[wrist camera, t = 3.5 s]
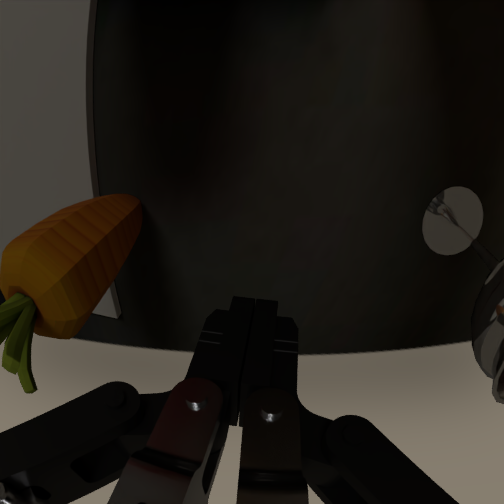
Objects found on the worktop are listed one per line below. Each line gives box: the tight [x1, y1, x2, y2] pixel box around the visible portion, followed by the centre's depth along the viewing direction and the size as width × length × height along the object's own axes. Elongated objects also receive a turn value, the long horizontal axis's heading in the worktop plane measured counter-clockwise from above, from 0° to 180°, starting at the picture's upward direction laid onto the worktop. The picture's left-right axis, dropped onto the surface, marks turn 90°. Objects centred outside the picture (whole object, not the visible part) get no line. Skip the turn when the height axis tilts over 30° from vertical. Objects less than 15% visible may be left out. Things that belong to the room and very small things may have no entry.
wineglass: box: [422, 186, 504, 404], centre depth 12 cm, size 7×7×12 cm
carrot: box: [0, 194, 143, 393], centre depth 13 cm, size 5×5×15 cm
